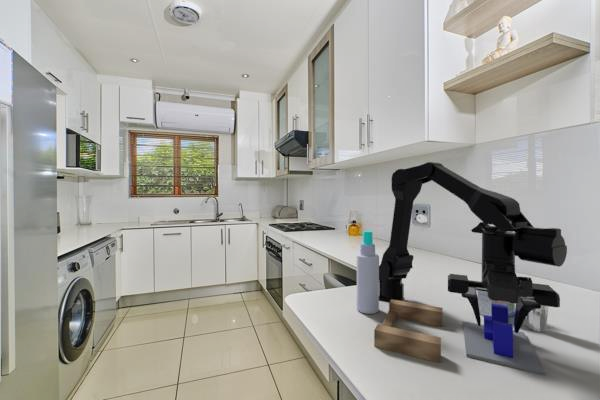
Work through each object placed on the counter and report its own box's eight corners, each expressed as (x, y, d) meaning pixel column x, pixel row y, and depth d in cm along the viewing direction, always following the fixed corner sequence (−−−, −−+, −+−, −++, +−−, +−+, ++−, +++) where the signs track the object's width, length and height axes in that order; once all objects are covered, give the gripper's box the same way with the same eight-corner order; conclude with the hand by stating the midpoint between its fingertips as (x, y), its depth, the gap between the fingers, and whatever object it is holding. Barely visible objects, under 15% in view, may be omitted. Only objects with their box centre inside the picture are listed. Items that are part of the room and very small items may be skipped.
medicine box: (492, 320, 71) (492, 286, 71) (476, 313, 75) (476, 281, 75) (515, 316, 73) (515, 283, 73) (499, 309, 77) (499, 279, 77)
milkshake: (520, 321, 70) (520, 282, 70) (548, 328, 66) (549, 286, 66) (519, 328, 66) (520, 287, 66) (550, 335, 63) (550, 292, 63)
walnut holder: (374, 346, 59) (374, 329, 59) (391, 311, 76) (391, 299, 76) (440, 362, 53) (440, 344, 53) (442, 321, 70) (442, 307, 70)
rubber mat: (466, 356, 55) (466, 353, 55) (462, 323, 69) (462, 321, 69) (545, 374, 49) (545, 371, 49) (523, 334, 63) (523, 332, 63)
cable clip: (483, 327, 66) (483, 302, 66) (507, 332, 63) (507, 306, 63) (484, 351, 56) (484, 321, 55) (513, 358, 53) (512, 327, 53)
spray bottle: (381, 308, 78) (381, 230, 78) (375, 316, 73) (375, 233, 73) (360, 304, 81) (360, 229, 81) (353, 311, 76) (353, 231, 76)
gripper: (448, 258, 56) (447, 335, 56) (572, 270, 47) (570, 361, 48) (448, 249, 66) (447, 314, 66) (550, 257, 57) (549, 332, 57)
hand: (497, 328), depth 59 cm, fingers open, 6 cm apart
